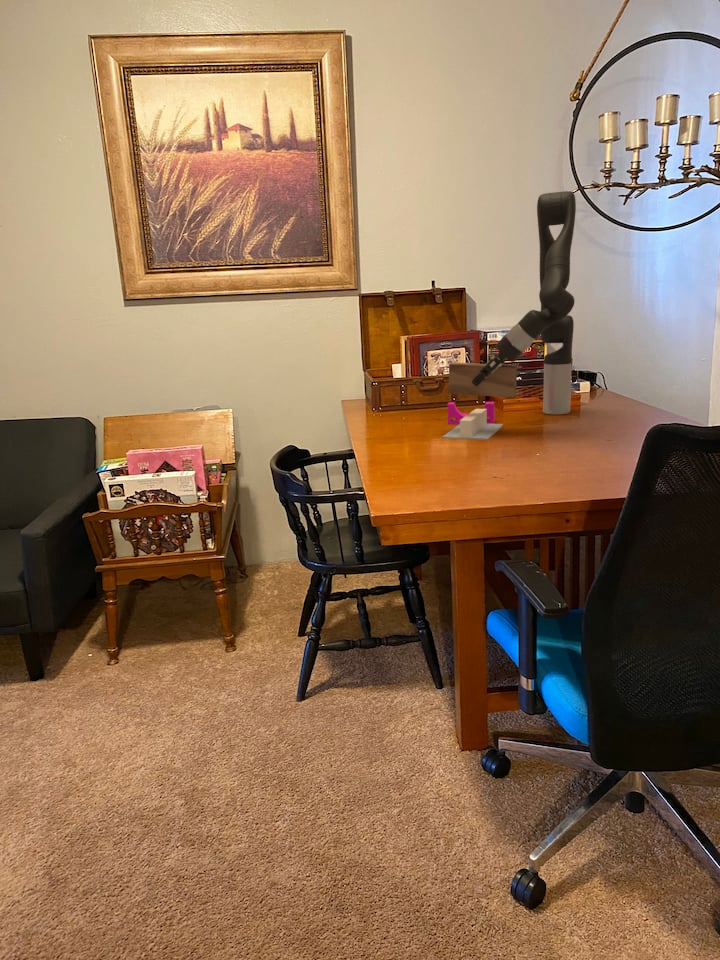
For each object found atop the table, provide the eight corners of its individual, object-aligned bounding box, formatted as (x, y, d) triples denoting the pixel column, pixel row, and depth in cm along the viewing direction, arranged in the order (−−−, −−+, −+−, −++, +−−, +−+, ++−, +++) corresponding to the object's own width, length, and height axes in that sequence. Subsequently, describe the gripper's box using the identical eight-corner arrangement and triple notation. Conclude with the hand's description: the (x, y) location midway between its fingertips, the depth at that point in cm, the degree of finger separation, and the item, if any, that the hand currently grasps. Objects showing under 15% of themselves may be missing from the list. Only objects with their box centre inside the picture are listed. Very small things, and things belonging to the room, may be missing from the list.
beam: (452, 391, 218) (453, 362, 215) (515, 395, 211) (517, 365, 208) (448, 393, 214) (449, 364, 211) (513, 397, 207) (515, 367, 204)
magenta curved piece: (494, 422, 232) (494, 400, 230) (493, 426, 226) (493, 403, 224) (450, 422, 236) (449, 401, 234) (448, 426, 230) (447, 404, 228)
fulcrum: (461, 425, 229) (461, 407, 227) (503, 426, 223) (503, 408, 222) (442, 440, 210) (441, 420, 208) (487, 441, 204) (487, 421, 202)
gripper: (511, 331, 211) (472, 371, 218) (502, 335, 198) (461, 377, 206) (528, 348, 210) (489, 388, 218) (520, 353, 197) (479, 395, 205)
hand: (476, 382), depth 212 cm, fingers closed on beam, 4 cm apart
